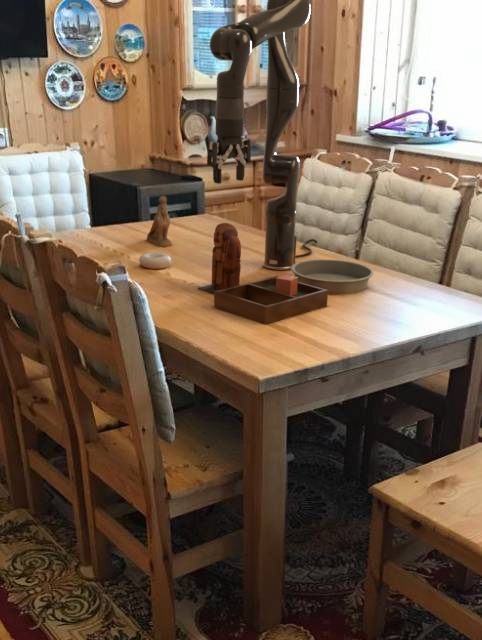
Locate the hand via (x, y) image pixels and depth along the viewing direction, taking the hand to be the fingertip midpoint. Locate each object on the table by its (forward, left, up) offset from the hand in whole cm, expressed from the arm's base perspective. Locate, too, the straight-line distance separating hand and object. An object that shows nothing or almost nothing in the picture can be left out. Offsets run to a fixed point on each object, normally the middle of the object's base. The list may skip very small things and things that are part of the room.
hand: (228, 181), depth 223 cm
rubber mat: (+2, +1, -29) cm, 29 cm away
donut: (0, -32, -29) cm, 44 cm away
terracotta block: (-2, +21, -27) cm, 34 cm away
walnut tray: (+4, +21, -29) cm, 36 cm away
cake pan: (-27, +17, -29) cm, 43 cm away
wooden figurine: (+2, +1, -29) cm, 29 cm away
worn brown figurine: (-22, -56, -29) cm, 67 cm away
